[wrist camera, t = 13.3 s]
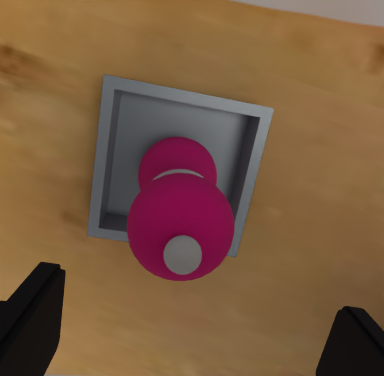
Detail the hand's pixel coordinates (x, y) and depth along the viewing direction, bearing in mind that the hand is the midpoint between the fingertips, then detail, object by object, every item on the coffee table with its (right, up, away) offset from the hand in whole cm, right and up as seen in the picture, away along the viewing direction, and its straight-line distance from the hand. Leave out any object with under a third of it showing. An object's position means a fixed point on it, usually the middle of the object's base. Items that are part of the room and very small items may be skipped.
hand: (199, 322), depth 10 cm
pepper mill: (-2, +7, +22) cm, 24 cm away
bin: (-2, +7, +23) cm, 24 cm away
